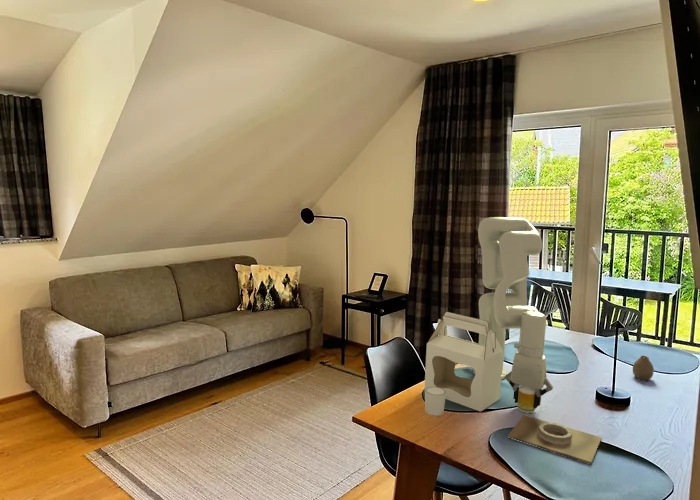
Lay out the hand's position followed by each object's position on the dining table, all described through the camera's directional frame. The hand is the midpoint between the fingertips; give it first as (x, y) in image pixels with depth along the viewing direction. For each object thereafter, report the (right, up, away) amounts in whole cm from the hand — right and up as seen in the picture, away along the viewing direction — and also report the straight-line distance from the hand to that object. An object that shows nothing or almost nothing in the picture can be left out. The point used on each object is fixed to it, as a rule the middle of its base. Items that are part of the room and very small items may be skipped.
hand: (526, 403), depth 161 cm
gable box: (-19, 0, +10) cm, 21 cm away
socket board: (+2, -5, -18) cm, 19 cm away
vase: (+54, 0, +29) cm, 62 cm away
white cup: (-30, -2, -3) cm, 31 cm away
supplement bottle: (0, -2, 0) cm, 2 cm away
